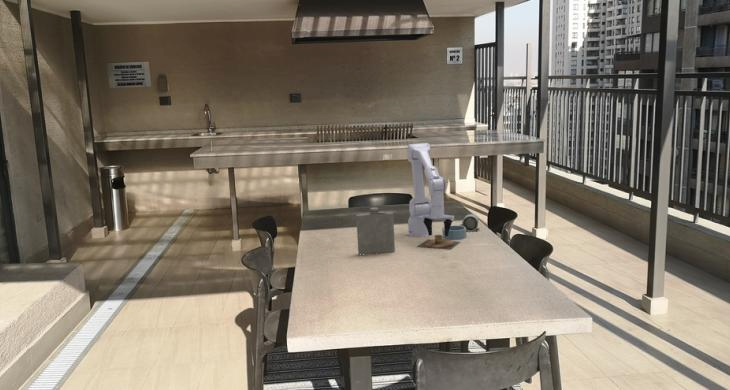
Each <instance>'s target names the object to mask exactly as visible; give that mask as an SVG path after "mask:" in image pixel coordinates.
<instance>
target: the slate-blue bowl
mask: <svg viewBox="0 0 730 390" xmlns="http://www.w3.org/2000/svg"><path fill="white" fill-rule="evenodd" d="M441 232H442V233H441V235H442V239H447V240H451V241H458V240H459V241H460V240H463V239H466V238H467V231H466V227H464V226H459V225H451V226H450V229H449V233H448V236H447V237H445V227H444V226H443V227H442V228H441Z"/></svg>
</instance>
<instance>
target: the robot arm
mask: <svg viewBox="0 0 730 390" xmlns="http://www.w3.org/2000/svg"><path fill="white" fill-rule="evenodd" d="M431 150H432V149H431V145H430V143H428V142H424V143H409V144H408V146H407V149H406V153H407V155H406V156H407V160H408V162H409V163H411V170H412V171H411V172H412V180H413V181H412V183H413V192H414V196H413V197H412V198H411V199H410V200H409V204H408V205H409V206H408V208H409V209H408V211H409V215H410V216H409V218H408V221H407V227H408V230H407V231H408V232H407V233H408V234H407V236H411V237H428V236H432V235H433V220H439V221H443V227H445V237H447V236H448V233H449V229H450V226H452V223H453V222H454V220H455V215H450V214H445V198H444V191H445V190H446V188H447V187H446V179H445V178H444V177H442V176H440V174H439V171H438V169H437V167H436V165H435V166H434V165H433V163H432V160H431V157H430V155H431ZM423 167H424V171H423ZM424 176H425V179H426V180H427V188H428V192H429V196H430V198H428V197H427V196H426V195H425V193H426V192H425V183H424Z"/></svg>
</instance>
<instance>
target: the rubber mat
mask: <svg viewBox="0 0 730 390" xmlns="http://www.w3.org/2000/svg"><path fill="white" fill-rule="evenodd" d="M428 240H431V239H430V238H429V239H427V240H425V241H428ZM425 241H423V242H422V243H420V244H418V245H417V246H416V248H424V249H431V248H430V247H426V246H424V242H425ZM452 241H453V245H452V246H450V247H446V248H433V249H435V250H436V249H437V250H446V251H447V250H450V251H451V250H452V249H454V248H455V247H457V246H458V245H459V244H460V243H461V241H458V240H452Z"/></svg>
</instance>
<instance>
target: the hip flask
mask: <svg viewBox="0 0 730 390" xmlns="http://www.w3.org/2000/svg"><path fill="white" fill-rule="evenodd" d="M369 210H370V212H369V213H359V214H356V215H355V218H356V232H357V233H356V234H357V235H356V237H357V251H358V254H361V255H360V256H364V255H363V254H371V255H377V254H384V253H385V254H391V253H395V252H396V250H395V249H396V244H395V226H394V225H395V223H394V222H395V221H394V212H392V211H391V212H390V211H387V212H386V211H379V207H370V209H369ZM376 253H377V254H376ZM358 254H357V255H358Z"/></svg>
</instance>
